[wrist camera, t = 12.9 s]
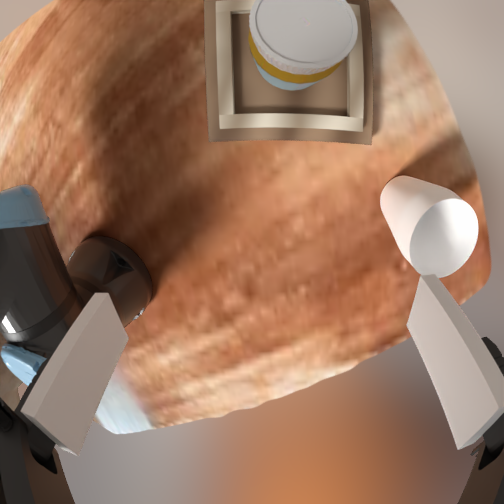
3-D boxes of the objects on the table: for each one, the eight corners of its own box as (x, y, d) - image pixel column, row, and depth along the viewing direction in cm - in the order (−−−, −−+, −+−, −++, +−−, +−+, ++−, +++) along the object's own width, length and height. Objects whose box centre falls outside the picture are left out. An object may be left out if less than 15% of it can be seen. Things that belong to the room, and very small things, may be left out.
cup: (378, 159, 31) (422, 188, 21) (436, 173, 31) (489, 206, 21) (364, 226, 36) (395, 276, 25) (420, 234, 36) (461, 282, 25)
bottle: (328, 87, 26) (376, 72, 13) (263, 95, 27) (255, 84, 14) (315, 28, 23) (348, -27, 9) (250, 37, 24) (230, -17, 11)
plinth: (213, 139, 32) (206, 143, 29) (208, 2, 23) (201, -8, 20) (365, 142, 30) (374, 146, 27) (362, 6, 22) (371, -3, 19)
